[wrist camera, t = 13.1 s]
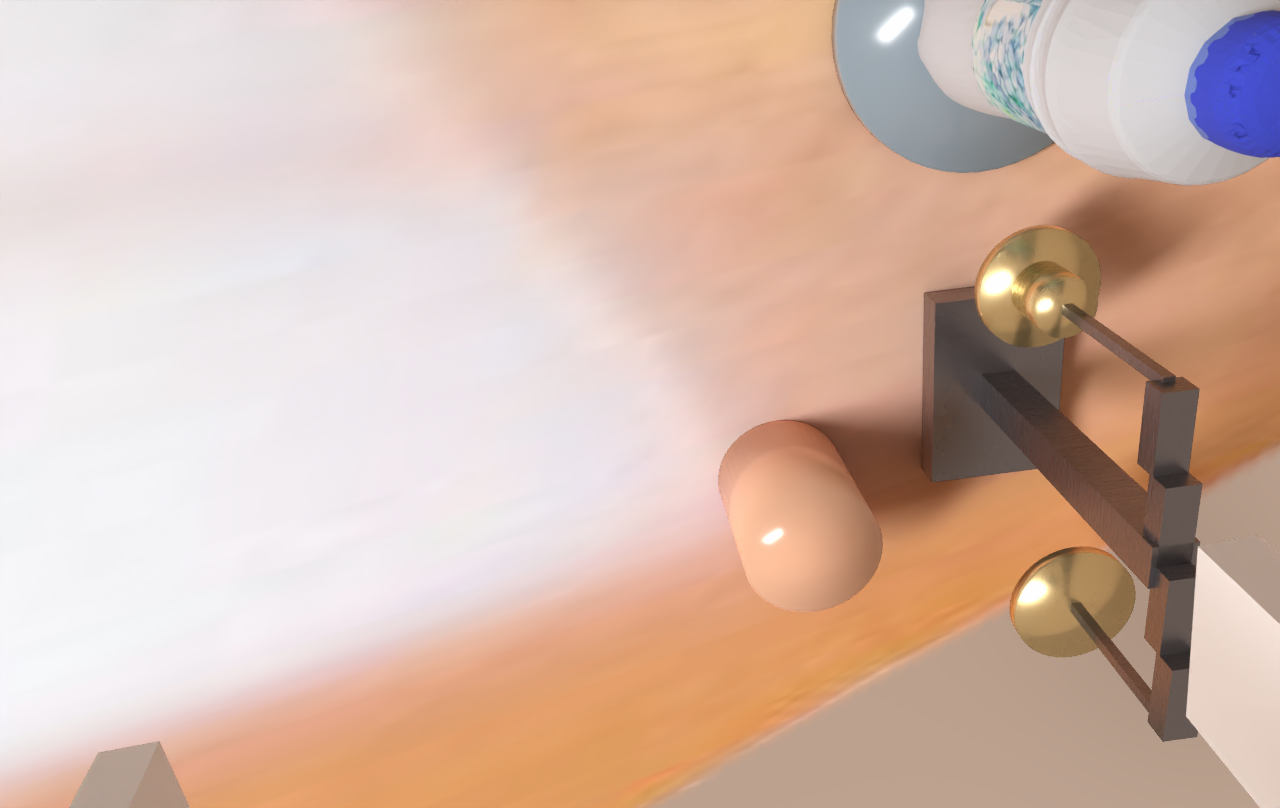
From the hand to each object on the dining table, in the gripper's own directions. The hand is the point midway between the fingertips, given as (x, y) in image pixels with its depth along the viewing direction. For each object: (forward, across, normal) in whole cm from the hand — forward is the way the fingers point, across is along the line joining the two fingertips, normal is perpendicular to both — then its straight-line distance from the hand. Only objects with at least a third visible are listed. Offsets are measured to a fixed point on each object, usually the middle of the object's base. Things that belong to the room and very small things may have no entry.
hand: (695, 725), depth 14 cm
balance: (+34, +17, -13) cm, 40 cm away
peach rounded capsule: (+34, +6, -16) cm, 39 cm away
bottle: (+34, +17, +3) cm, 38 cm away
